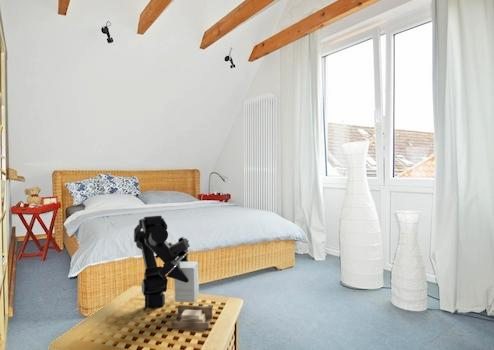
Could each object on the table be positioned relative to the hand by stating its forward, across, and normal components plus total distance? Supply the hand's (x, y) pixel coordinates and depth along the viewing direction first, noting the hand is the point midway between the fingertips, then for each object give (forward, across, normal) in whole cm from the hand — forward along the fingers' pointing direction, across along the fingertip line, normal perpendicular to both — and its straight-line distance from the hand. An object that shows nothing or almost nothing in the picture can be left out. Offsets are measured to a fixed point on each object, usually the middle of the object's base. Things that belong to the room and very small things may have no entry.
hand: (190, 277), depth 121 cm
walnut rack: (+11, -8, +7) cm, 16 cm away
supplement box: (+5, 0, +7) cm, 8 cm away
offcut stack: (+11, -9, +7) cm, 15 cm away
